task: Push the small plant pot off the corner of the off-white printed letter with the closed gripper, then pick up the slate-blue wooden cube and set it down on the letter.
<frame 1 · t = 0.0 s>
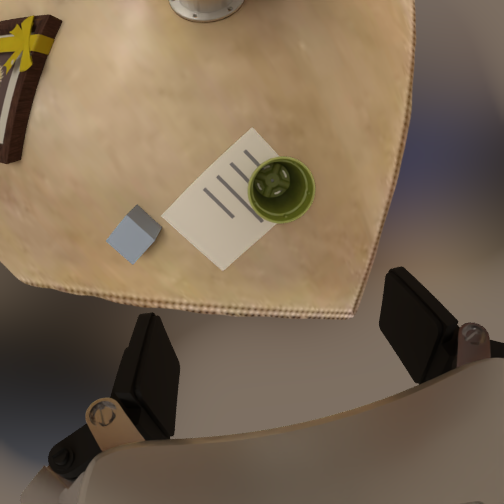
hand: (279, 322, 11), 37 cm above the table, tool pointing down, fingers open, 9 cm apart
letter: (236, 203, 47), on the table
cube: (139, 227, 47), on the table
plant pot: (271, 179, 45), resting on letter
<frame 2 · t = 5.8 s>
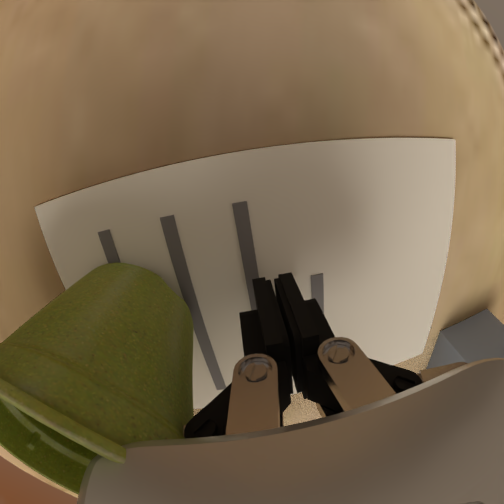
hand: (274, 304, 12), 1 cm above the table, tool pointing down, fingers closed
letter: (277, 305, 14), on the table
cube: (455, 345, 18), on the table
plant pot: (135, 315, 13), resting on letter, touching gripper
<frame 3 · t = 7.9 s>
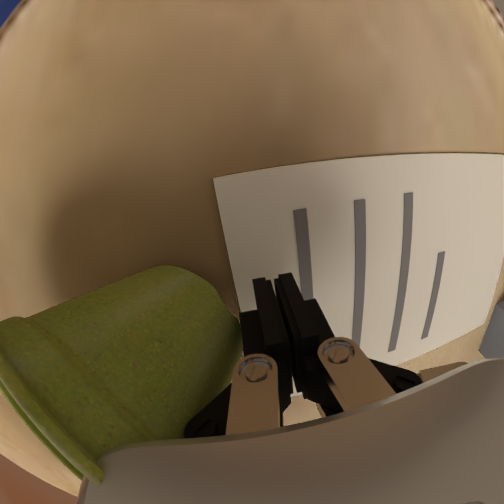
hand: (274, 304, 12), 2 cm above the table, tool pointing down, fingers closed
letter: (413, 279, 15), on the table
cube: (502, 318, 19), on the table
plant pot: (187, 322, 13), point 1 cm above the table, touching gripper
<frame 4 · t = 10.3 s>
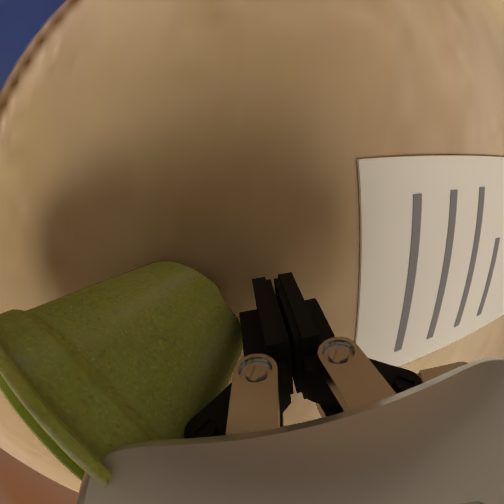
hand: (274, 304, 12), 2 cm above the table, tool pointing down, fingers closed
letter: (478, 260, 15), on the table
plant pot: (186, 319, 13), point 1 cm above the table, touching gripper
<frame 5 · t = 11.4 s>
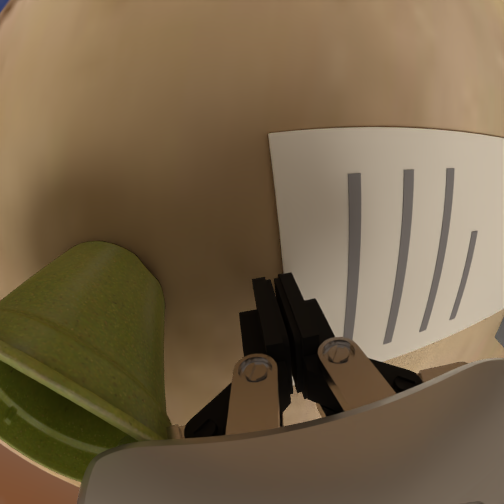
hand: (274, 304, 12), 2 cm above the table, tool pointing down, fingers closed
letter: (448, 256, 14), on the table
plant pot: (109, 293, 13), on the table
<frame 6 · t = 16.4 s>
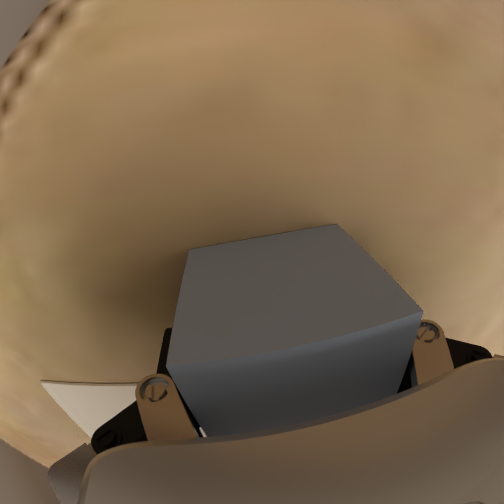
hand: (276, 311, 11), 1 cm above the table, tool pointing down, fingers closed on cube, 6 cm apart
letter: (182, 454, 18), on the table
cube: (273, 299, 12), on the table, touching gripper
when the fingers open (2 cm above the table, at t = 21.6 s): cube drops 1 cm, resting on letter.
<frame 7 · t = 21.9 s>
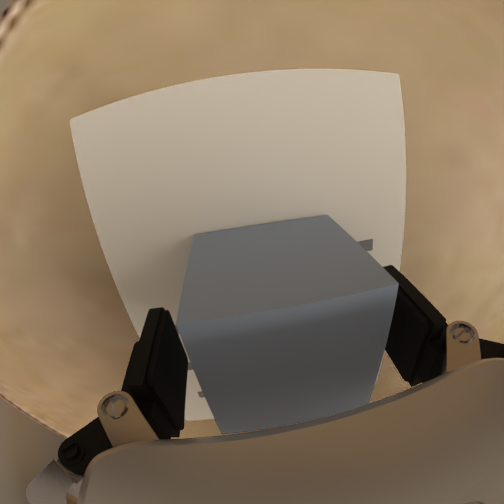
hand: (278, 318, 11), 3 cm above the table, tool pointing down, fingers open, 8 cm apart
letter: (269, 296, 14), on the table
cube: (268, 282, 14), resting on letter
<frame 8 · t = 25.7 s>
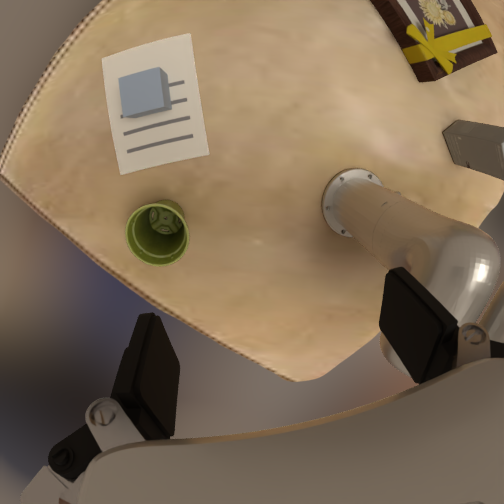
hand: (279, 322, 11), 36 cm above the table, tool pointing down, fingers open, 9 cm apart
letter: (152, 101, 37), on the table
cube: (151, 95, 36), resting on letter
skincare box: (456, 141, 44), on the table
brown gift box: (423, 8, 31), on the table
plant pot: (167, 216, 46), on the table
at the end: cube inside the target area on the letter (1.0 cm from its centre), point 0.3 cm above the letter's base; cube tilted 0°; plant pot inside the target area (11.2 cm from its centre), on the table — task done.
